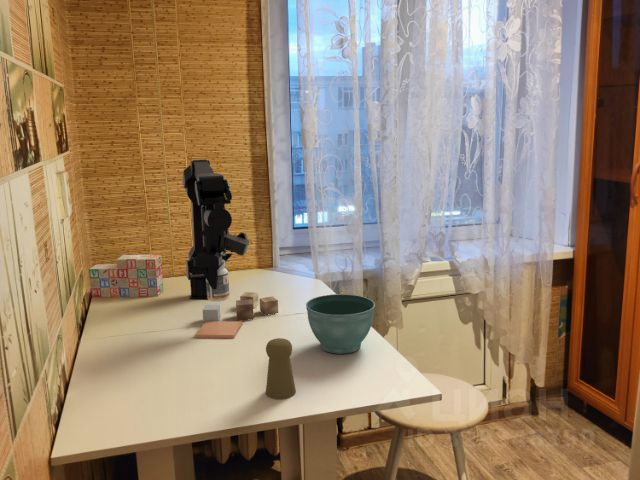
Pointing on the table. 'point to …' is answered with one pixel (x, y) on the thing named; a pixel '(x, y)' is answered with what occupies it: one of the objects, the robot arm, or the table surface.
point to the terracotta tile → (219, 329)
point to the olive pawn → (279, 369)
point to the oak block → (268, 305)
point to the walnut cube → (244, 309)
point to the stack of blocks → (128, 277)
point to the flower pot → (340, 321)
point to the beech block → (250, 296)
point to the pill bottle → (219, 286)
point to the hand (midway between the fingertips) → (217, 285)
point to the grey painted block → (211, 313)
